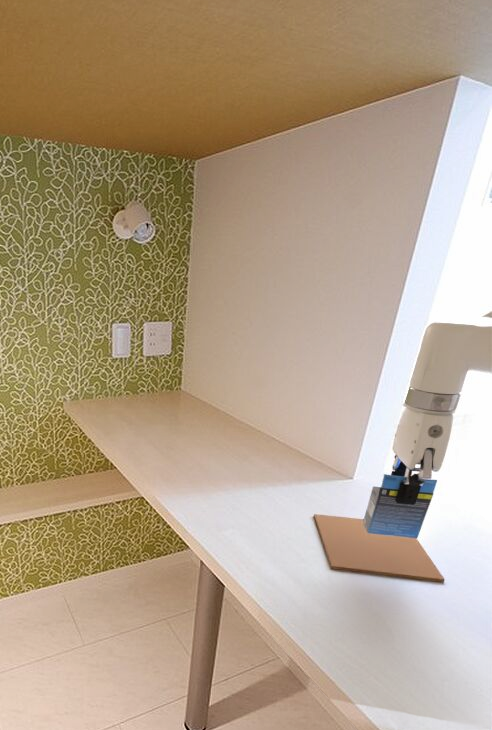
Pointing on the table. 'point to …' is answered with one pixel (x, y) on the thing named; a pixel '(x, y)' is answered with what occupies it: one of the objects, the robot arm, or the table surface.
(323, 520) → the cork mat
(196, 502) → the table surface
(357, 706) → the table surface
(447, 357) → the robot arm
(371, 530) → the label tape box
